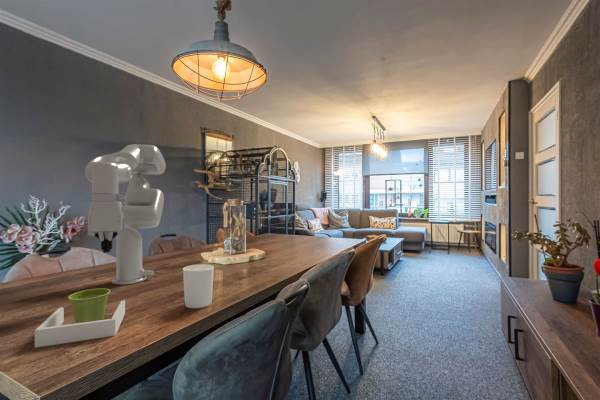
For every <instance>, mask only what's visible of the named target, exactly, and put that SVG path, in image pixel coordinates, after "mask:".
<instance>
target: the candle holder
mask: <svg viewBox="0 0 600 400" xmlns="http://www.w3.org/2000/svg"><path fill="white" fill-rule="evenodd" d="M214 269H215V266H214V265H212V264H207V263H205V264H204V263H203V264H191V265H187V266H185V267H183V268H182V275H183V277H182V278H183V292H184V293H183V294H184V295H183V296H184V305H185V307H186V308H189V309H201V308H205V307H209V306H210V305H211V304H212V301H213V286H214V272H215V270H214Z"/></svg>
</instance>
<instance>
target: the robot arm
mask: <svg viewBox="0 0 600 400" xmlns="http://www.w3.org/2000/svg"><path fill="white" fill-rule="evenodd" d="M166 168H167V166H166V160H165V158H164V156H163V154H162V152H161V150H160V149H159V148H158V147H157V146H155V145H153V144H139V143H137V144H135V143H133V144H127V145H126V146H125V147H124V148H122V149H121V150H120V151H118V152H113V153H109V154H104V155H100V156H97V157H95V158H93V159H91V160H90V161H89V162H88V163H87V164H86V165H85V169H84V175H85V179H86V180H87V181H89V182H91V194H92V196H91V200H92V202H90V203H89V206H88V215H87V236H90V237H95V238H97V239H98V240H99V241H100V246H101V247H100V249H101V251H102V252H103V253H110V252H111V251H112V250H113V240H114V239H115V238H116V241H115V242H116V244H115V246H116V247H115V248H116V254H115V255H116V256H115V260H116V261H115V266H116V267H115V269H116V270H115V271H116V275H115V277H114V278H112V279H111V283H112V284H113V285H118V286H119V285H130V284H131V285H132V284H137V283H142V282H143V281H145V280H147V276H153V275H155V271H154V270H152V269H148V270H145V268H144V267H143V237H142V235H141V234H140V232H139V231H138V230H137V229H153V228H157V227H158V226H159V225H160V223H161V217H162V214H163V209H164V204H165V195H164V193H163V191H162V190H160V189H158V188H150V182H149V181H148V180H147V179H146V178H145V177H144V176H143V175H163V174H164V173H165V170H166ZM127 183H128V186H127V189H126V192H125V195H123V194H120V192H119V184H127ZM120 200H123V202H122V201H120ZM122 203H123V204H124V205H123V204H122ZM106 232H107V233H108V235H107V237H106Z"/></svg>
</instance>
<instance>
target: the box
mask: <svg viewBox="0 0 600 400" xmlns="http://www.w3.org/2000/svg"><path fill="white" fill-rule="evenodd" d="M64 312H65V309H64V307H59V308H57V309H56V310H55V311H54V312H53V313H52V314H51V315H50V316H49V317H48V318H46V319H45V321H43V322H42V323H41V324H40V325H38V327H37V328H36V329H35V330H34V348H42V347H48V346H49V347H50V346H54V345H55V346H56V345H61V344H69V343H74V342H81V341H87V340H96V339H102V338H108V337H113V336H114V337H115V336H116V335H117V332H118V330H119V328H120V326H121V323H122V322H123V319H124V317H125V314H126V300H125V299H124V300H120V302H119V304H118V306H117V308H116V310H115V311H114V313H113V315H112V317H111V318H107V319H104V320H99V321H91V322H84V323H70V324H69V323H68V324H63V323H64V322H65V320H64V319H65V317H64V314H65V313H64Z"/></svg>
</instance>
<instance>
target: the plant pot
mask: <svg viewBox="0 0 600 400" xmlns="http://www.w3.org/2000/svg"><path fill="white" fill-rule="evenodd" d="M110 293H111V289H108V288H91V289H85V290H80V291H77V292H73V293H72V294H70V295H68V298H67V299H68V300H69V301H70V304H71V306H72V311H73V317H74V322H75V323H74V324H76V323H84V322H91V321H99V320H105V315H106V309H107V308H106V307H107V300H108V298H109V294H110Z"/></svg>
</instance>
